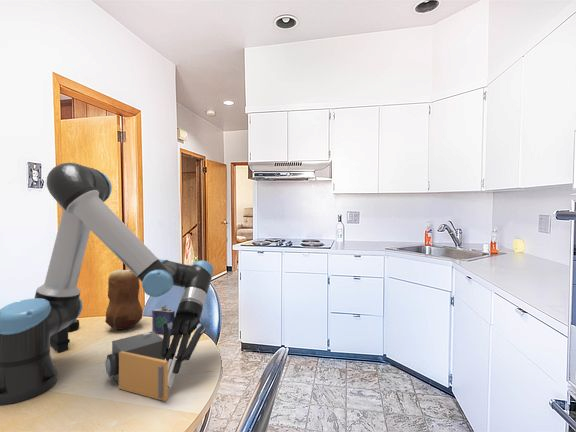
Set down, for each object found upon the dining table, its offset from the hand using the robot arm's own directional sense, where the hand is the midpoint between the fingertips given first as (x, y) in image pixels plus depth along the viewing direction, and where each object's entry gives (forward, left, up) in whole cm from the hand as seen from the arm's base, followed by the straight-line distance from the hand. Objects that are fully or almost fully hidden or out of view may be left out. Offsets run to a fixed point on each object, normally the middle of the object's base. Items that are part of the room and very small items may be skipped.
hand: (166, 386), depth 83 cm
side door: (-5, +5, -2) cm, 7 cm away
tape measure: (-11, +74, -3) cm, 75 cm away
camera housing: (-3, +17, -3) cm, 18 cm away
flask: (+17, +43, -3) cm, 46 cm away
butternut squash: (+7, +60, -3) cm, 61 cm away
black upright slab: (-16, +57, -3) cm, 60 cm away
